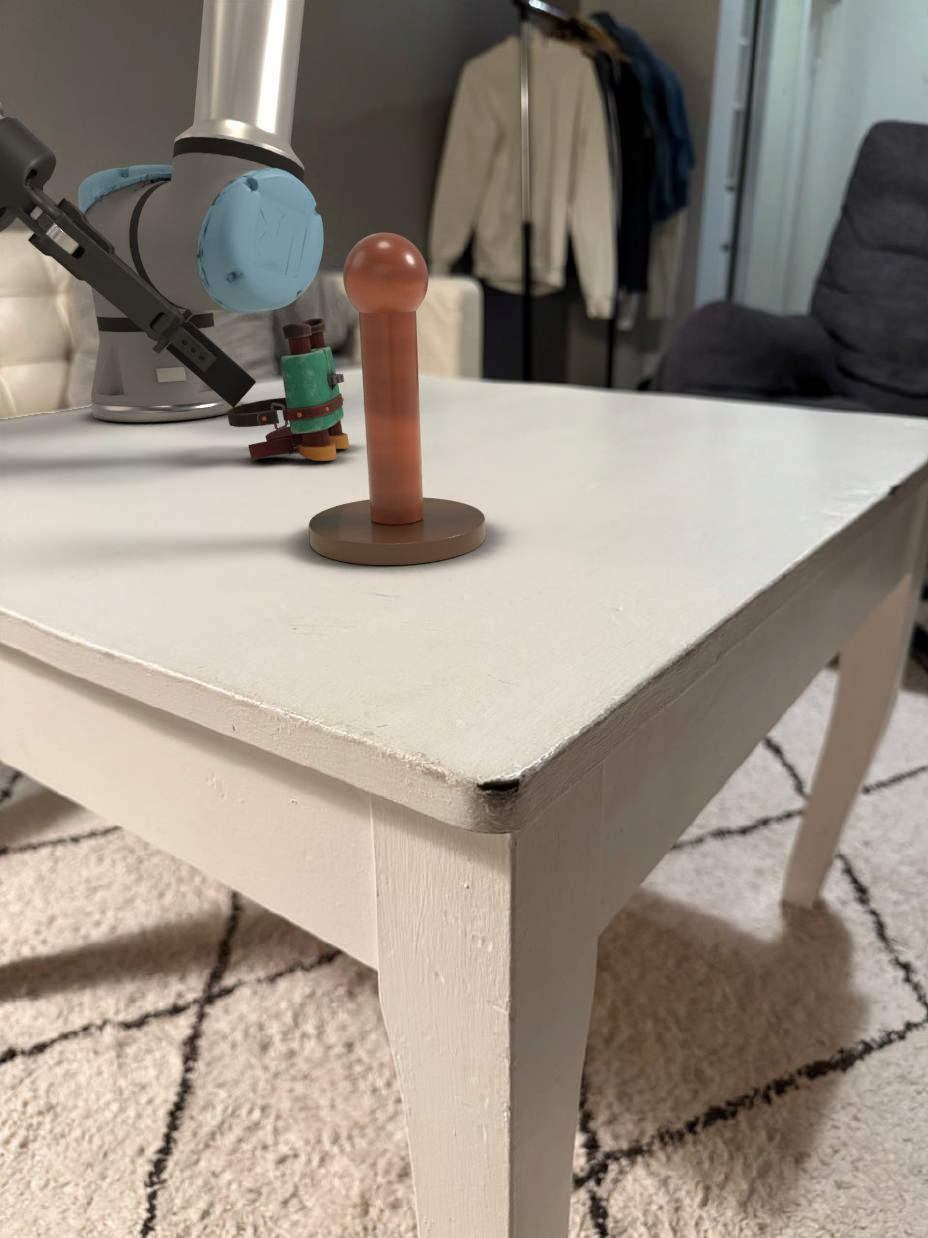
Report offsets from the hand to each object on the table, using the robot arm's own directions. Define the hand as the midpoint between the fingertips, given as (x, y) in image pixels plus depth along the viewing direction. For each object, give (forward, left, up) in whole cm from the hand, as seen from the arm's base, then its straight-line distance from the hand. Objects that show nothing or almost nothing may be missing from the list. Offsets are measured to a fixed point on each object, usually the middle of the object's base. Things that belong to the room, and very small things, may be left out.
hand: (244, 393), depth 72 cm
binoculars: (0, +3, -5) cm, 6 cm away
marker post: (+26, +7, -5) cm, 28 cm away
